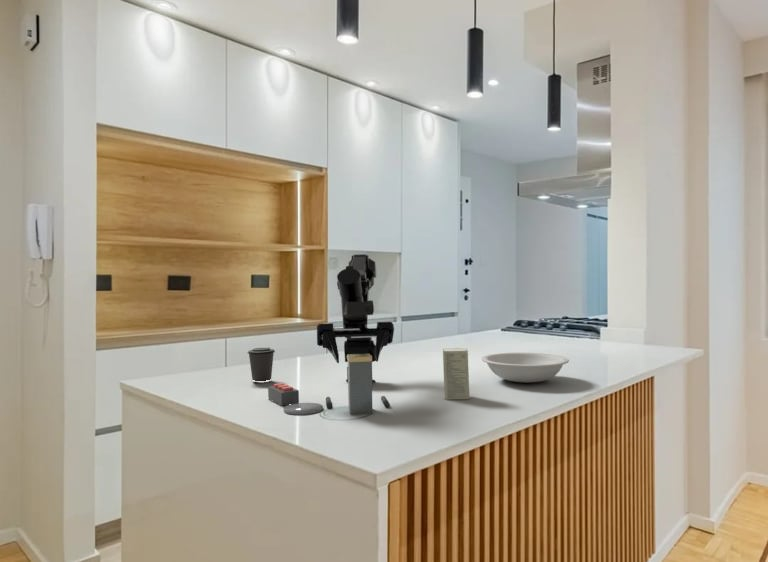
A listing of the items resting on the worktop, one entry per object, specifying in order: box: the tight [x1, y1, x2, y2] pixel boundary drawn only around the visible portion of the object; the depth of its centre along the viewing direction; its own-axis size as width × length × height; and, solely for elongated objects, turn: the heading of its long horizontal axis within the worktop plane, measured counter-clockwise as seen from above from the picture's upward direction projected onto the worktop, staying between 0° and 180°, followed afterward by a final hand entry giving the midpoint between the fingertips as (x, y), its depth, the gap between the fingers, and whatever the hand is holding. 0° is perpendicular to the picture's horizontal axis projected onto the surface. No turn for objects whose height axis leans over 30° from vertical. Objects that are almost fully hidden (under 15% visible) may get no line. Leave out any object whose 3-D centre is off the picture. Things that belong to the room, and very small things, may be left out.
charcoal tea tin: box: [347, 354, 373, 415], centre depth 119 cm, size 5×5×13 cm
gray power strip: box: [267, 382, 300, 407], centre depth 130 cm, size 9×4×4 cm, turn 33°
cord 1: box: [325, 396, 332, 409], centre depth 125 cm, size 7×1×1 cm, turn 8°
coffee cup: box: [247, 347, 276, 381], centre depth 156 cm, size 8×8×10 cm
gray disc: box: [283, 402, 324, 416], centre depth 121 cm, size 9×9×1 cm
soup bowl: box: [481, 352, 569, 384], centre depth 149 cm, size 24×24×7 cm
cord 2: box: [380, 395, 391, 408], centre depth 125 cm, size 7×1×1 cm, turn 8°
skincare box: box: [442, 347, 470, 400], centre depth 130 cm, size 6×4×12 cm
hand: (357, 361), depth 123 cm, fingers open, 9 cm apart
